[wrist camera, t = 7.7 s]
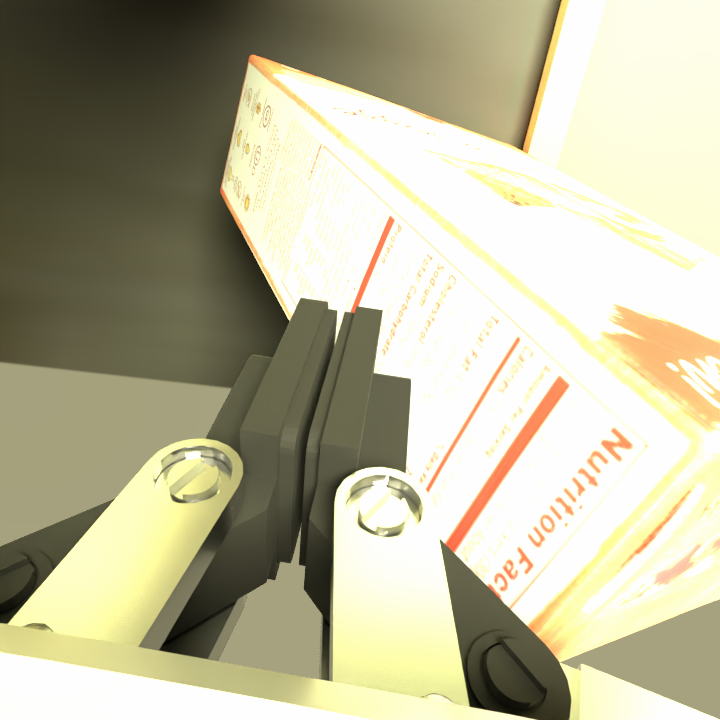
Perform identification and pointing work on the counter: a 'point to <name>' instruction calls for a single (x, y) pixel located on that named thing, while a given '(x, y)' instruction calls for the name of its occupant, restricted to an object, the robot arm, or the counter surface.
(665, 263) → the cracker box
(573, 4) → the mat
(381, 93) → the counter surface
